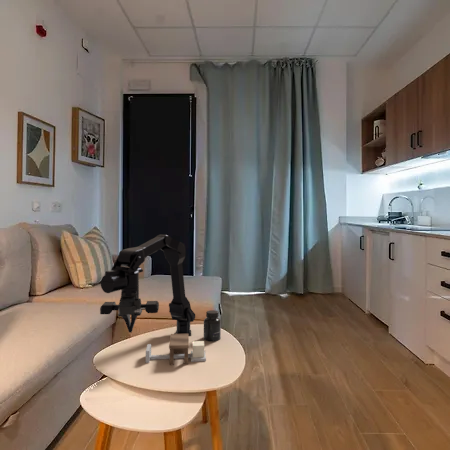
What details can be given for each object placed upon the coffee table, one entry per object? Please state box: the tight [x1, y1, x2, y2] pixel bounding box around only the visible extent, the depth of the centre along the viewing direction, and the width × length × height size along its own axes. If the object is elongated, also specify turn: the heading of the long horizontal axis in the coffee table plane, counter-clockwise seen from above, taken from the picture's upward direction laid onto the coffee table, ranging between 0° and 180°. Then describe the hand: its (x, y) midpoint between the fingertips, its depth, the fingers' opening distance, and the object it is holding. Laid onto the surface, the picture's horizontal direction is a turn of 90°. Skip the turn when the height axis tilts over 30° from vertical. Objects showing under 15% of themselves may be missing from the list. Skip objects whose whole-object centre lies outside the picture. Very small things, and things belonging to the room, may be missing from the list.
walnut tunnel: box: [168, 333, 190, 366], centre depth 122 cm, size 11×6×7 cm, turn 6°
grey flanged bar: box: [145, 343, 207, 364], centre depth 122 cm, size 7×20×4 cm, turn 96°
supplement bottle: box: [203, 309, 222, 343], centre depth 140 cm, size 7×7×12 cm
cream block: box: [192, 340, 205, 357], centre depth 122 cm, size 4×4×4 cm
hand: (130, 332), depth 120 cm, fingers closed
